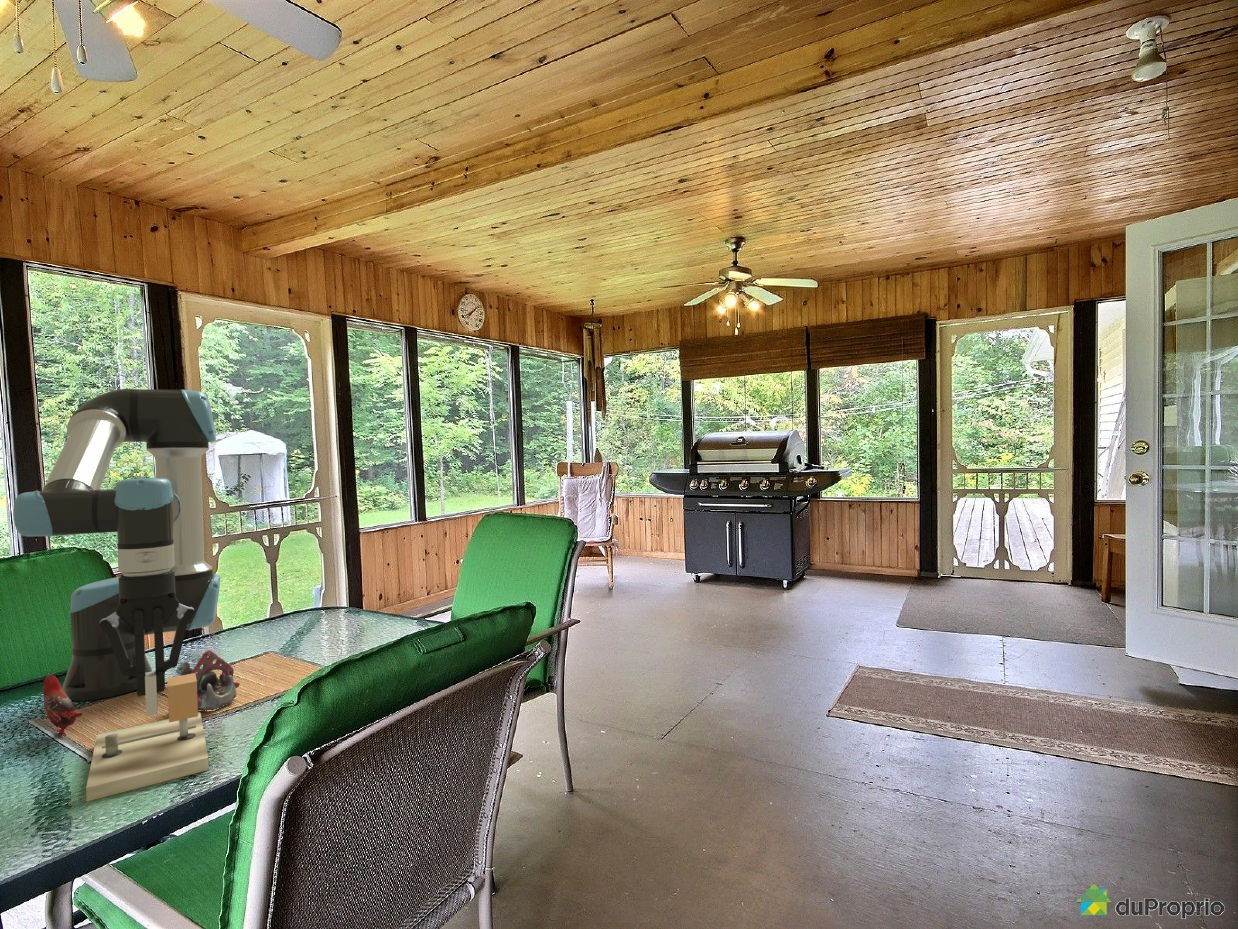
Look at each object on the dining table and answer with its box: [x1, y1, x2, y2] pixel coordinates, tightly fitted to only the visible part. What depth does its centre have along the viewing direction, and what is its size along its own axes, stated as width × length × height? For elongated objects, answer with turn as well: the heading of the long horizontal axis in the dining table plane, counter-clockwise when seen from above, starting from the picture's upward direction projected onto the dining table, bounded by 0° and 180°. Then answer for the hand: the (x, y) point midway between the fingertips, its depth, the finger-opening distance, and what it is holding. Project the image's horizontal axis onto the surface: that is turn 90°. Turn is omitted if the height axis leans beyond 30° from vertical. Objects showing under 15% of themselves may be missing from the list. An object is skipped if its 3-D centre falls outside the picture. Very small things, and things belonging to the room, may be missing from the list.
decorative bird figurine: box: [42, 674, 83, 736], centre depth 115 cm, size 3×18×10 cm, turn 57°
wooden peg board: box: [85, 712, 209, 802], centre depth 107 cm, size 22×15×5 cm
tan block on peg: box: [166, 673, 199, 736], centre depth 109 cm, size 5×4×10 cm
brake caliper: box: [175, 649, 241, 711], centre depth 129 cm, size 11×11×12 cm
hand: (151, 712), depth 107 cm, fingers closed
